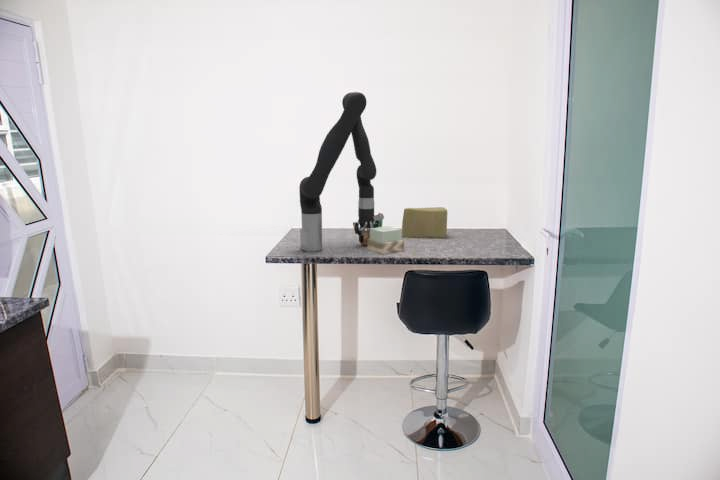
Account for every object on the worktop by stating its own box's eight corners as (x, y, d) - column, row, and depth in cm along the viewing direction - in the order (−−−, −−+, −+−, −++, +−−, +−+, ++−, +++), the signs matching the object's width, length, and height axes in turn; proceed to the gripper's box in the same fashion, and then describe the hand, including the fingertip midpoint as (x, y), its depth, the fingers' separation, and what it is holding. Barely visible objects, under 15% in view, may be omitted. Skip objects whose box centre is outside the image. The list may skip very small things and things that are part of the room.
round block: (364, 245, 240) (364, 233, 238) (359, 243, 243) (359, 231, 242) (372, 244, 242) (372, 231, 241) (367, 242, 246) (367, 230, 245)
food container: (375, 236, 261) (375, 217, 259) (365, 234, 265) (365, 215, 263) (388, 232, 271) (388, 213, 268) (379, 230, 274) (379, 212, 272)
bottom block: (382, 255, 225) (382, 244, 224) (367, 249, 235) (367, 239, 234) (403, 251, 232) (404, 240, 231) (388, 246, 241) (388, 236, 240)
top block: (382, 243, 226) (382, 232, 225) (369, 239, 234) (369, 228, 233) (400, 240, 231) (400, 229, 230) (387, 236, 239) (387, 226, 238)
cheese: (403, 239, 254) (404, 209, 251) (400, 235, 264) (401, 206, 261) (447, 238, 256) (448, 209, 253) (442, 234, 266) (443, 206, 262)
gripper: (358, 209, 232) (357, 245, 236) (383, 206, 240) (382, 242, 243) (349, 207, 238) (349, 242, 242) (374, 204, 246) (373, 239, 250)
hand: (366, 242), depth 243 cm, fingers closed on round block, 4 cm apart
